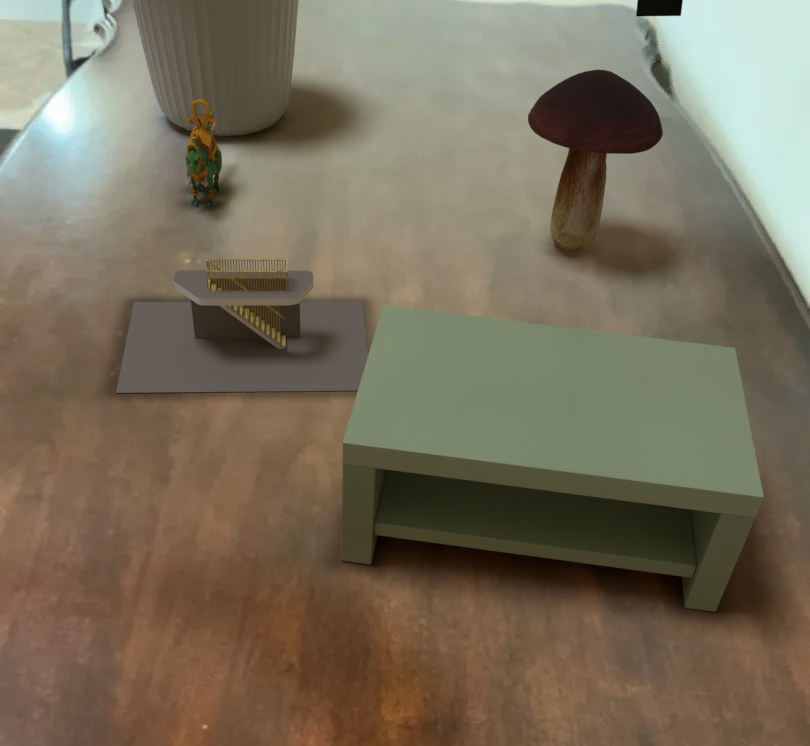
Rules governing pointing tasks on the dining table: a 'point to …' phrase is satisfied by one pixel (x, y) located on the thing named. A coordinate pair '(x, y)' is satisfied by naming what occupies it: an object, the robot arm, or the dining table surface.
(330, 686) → the dining table surface
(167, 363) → the platform
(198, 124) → the figurine
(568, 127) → the decorative mushroom
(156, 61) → the canister
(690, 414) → the shelf
